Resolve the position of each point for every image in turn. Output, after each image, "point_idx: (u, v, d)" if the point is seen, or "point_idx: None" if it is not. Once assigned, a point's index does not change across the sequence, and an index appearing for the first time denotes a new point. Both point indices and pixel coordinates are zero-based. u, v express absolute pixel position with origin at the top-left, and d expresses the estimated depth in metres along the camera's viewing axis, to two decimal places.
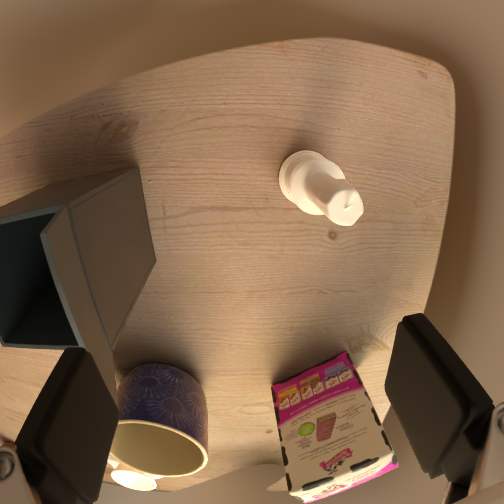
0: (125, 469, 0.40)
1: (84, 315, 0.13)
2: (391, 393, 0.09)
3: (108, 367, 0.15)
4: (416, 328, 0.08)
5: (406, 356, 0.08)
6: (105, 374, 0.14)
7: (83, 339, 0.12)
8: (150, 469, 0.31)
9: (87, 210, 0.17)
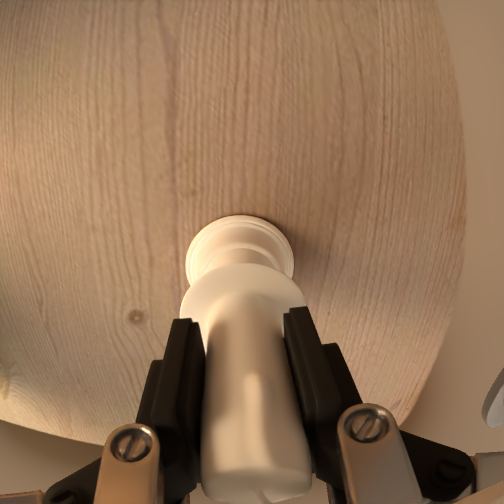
0: None
1: None
2: None
3: None
4: (296, 320, 0.09)
5: (287, 347, 0.09)
6: None
7: None
8: None
9: None
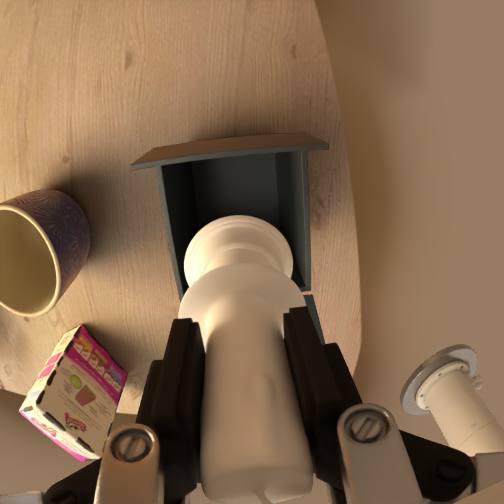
0: None
1: None
2: None
3: None
4: (296, 320, 0.09)
5: (287, 347, 0.09)
6: None
7: None
8: None
9: None
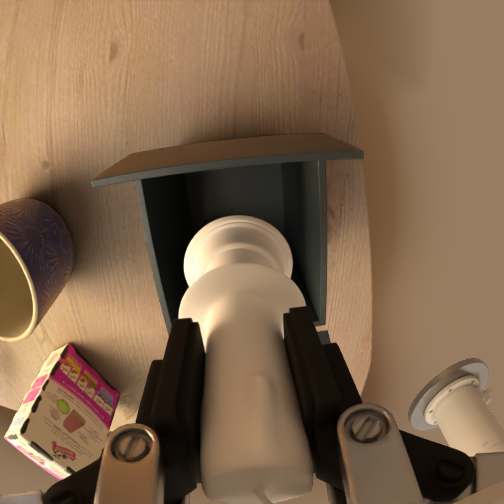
0: None
1: None
2: None
3: None
4: (296, 320, 0.09)
5: (287, 347, 0.09)
6: None
7: None
8: None
9: None
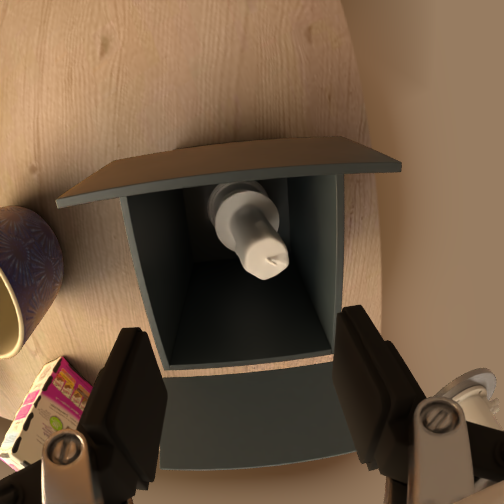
0: None
1: None
2: (336, 383, 0.10)
3: None
4: (352, 319, 0.09)
5: (343, 346, 0.09)
6: None
7: None
8: None
9: None
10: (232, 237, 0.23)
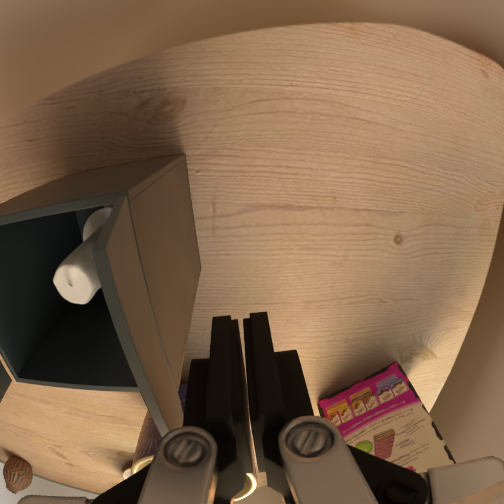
0: None
1: (158, 370, 0.09)
2: None
3: None
4: (254, 326, 0.09)
5: None
6: None
7: (164, 418, 0.07)
8: None
9: (146, 204, 0.13)
10: None
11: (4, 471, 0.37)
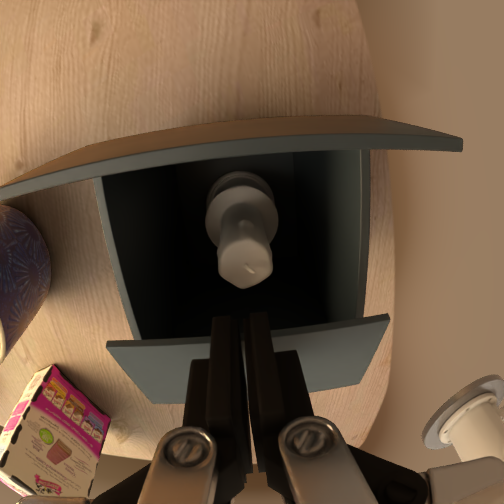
0: None
1: None
2: None
3: (160, 379, 0.11)
4: (254, 326, 0.09)
5: None
6: (164, 363, 0.11)
7: None
8: None
9: None
10: None
11: None
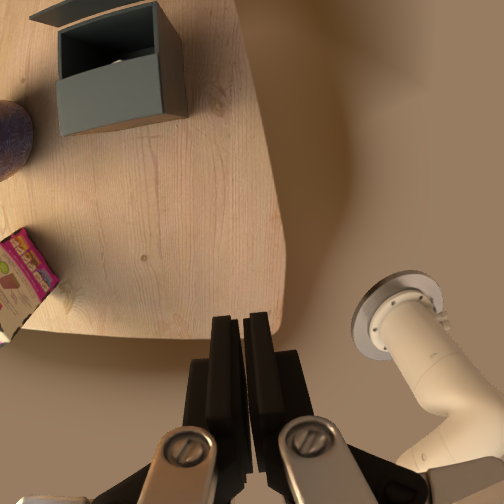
0: None
1: (105, 86, 0.22)
2: None
3: (68, 103, 0.22)
4: (254, 326, 0.09)
5: None
6: (73, 88, 0.21)
7: (102, 67, 0.21)
8: None
9: (158, 116, 0.26)
10: None
11: None
